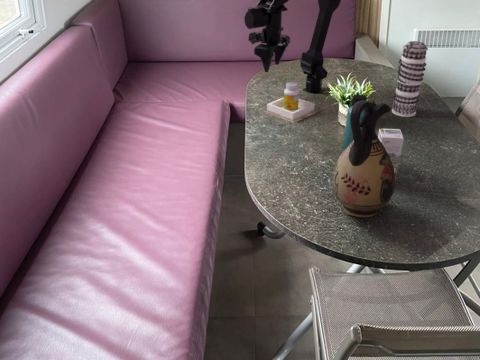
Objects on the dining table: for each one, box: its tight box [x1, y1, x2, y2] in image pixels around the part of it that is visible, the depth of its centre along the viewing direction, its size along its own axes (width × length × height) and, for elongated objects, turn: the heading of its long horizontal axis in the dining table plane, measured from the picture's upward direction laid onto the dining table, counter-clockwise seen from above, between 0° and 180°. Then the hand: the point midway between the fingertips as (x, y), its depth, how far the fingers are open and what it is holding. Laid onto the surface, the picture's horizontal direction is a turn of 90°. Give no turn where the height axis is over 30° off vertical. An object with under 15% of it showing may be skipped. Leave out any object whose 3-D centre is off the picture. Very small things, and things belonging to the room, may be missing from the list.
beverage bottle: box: [342, 93, 368, 153], centre depth 148 cm, size 6×7×20 cm
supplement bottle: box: [283, 81, 300, 112], centre depth 179 cm, size 5×5×10 cm
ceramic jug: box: [331, 99, 396, 218], centre depth 122 cm, size 17×15×30 cm
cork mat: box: [263, 109, 319, 124], centre depth 182 cm, size 14×14×1 cm
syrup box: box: [377, 128, 404, 182], centre depth 139 cm, size 6×6×14 cm
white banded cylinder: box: [391, 40, 429, 118], centre depth 176 cm, size 9×9×25 cm
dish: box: [266, 96, 315, 123], centre depth 181 cm, size 12×12×3 cm
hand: (271, 68), depth 184 cm, fingers open, 9 cm apart
